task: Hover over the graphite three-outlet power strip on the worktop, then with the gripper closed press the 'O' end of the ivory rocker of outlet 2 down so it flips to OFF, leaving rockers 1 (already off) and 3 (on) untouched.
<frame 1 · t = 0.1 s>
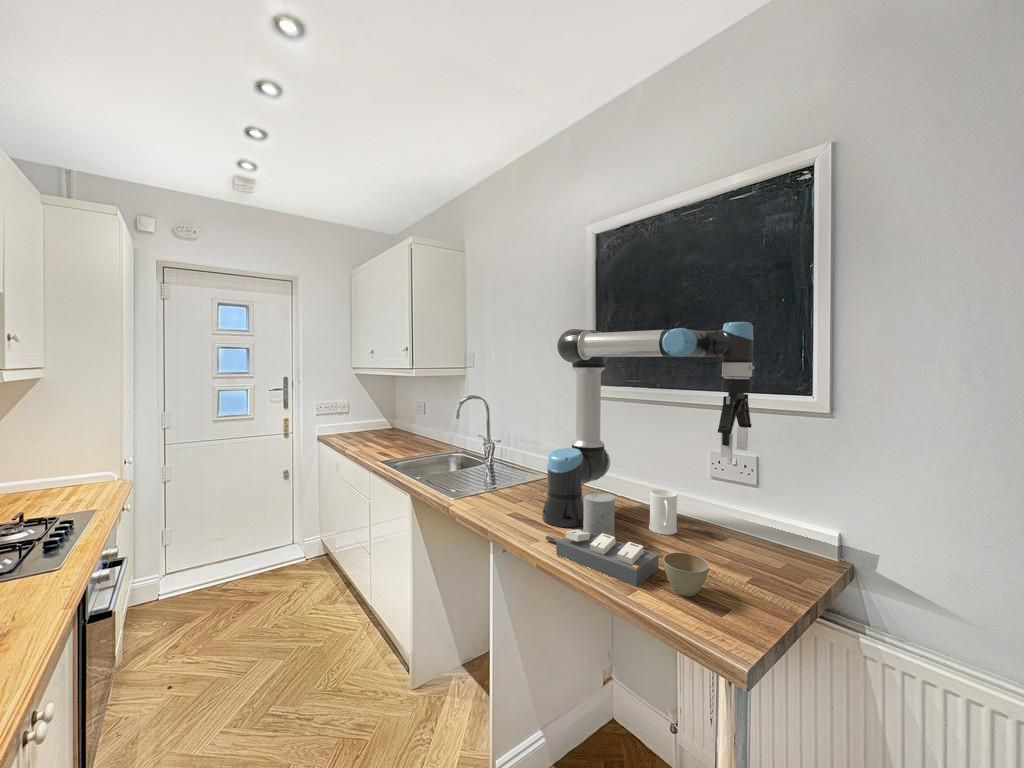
hand: (734, 453, 123), 28 cm above the table, fingers open, 13 cm apart
mug: (663, 532, 138), on the table
rocker 1: (577, 535, 121), point 6 cm above the table, hinge at -12.0°
flower pot: (685, 591, 103), on the table
grey concrete cylinder: (598, 536, 135), on the table
rocker 2: (602, 543, 116), point 6 cm above the table, hinge at 12.0°
rocker 3: (630, 552, 110), point 6 cm above the table, hinge at 12.0°
power strip: (605, 562, 117), on the table
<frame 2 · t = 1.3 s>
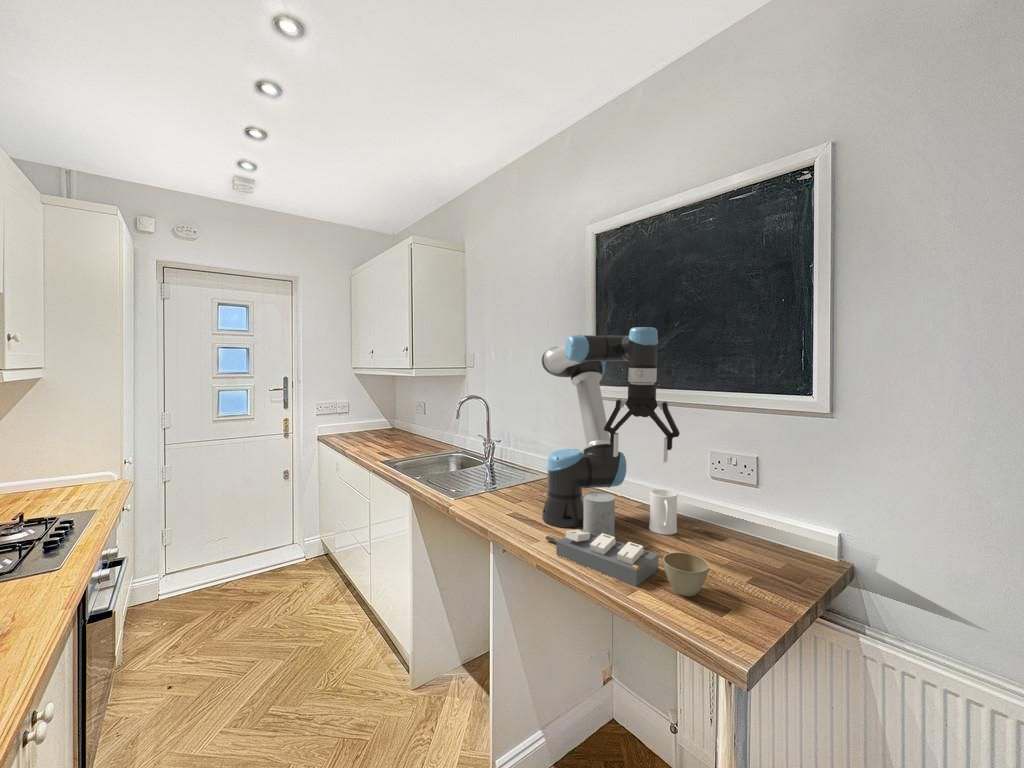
hand: (640, 458, 123), 26 cm above the table, fingers open, 13 cm apart
nothing on the table moved.
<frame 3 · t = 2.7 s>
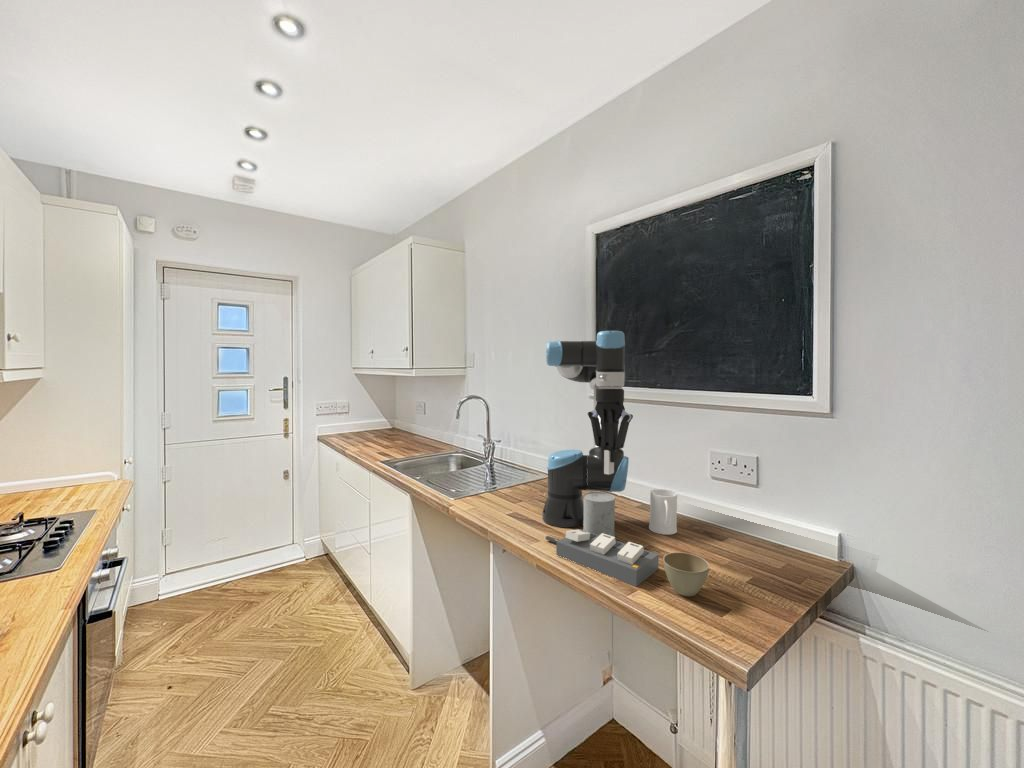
hand: (608, 473, 120), 23 cm above the table, fingers closed
nothing on the table moved.
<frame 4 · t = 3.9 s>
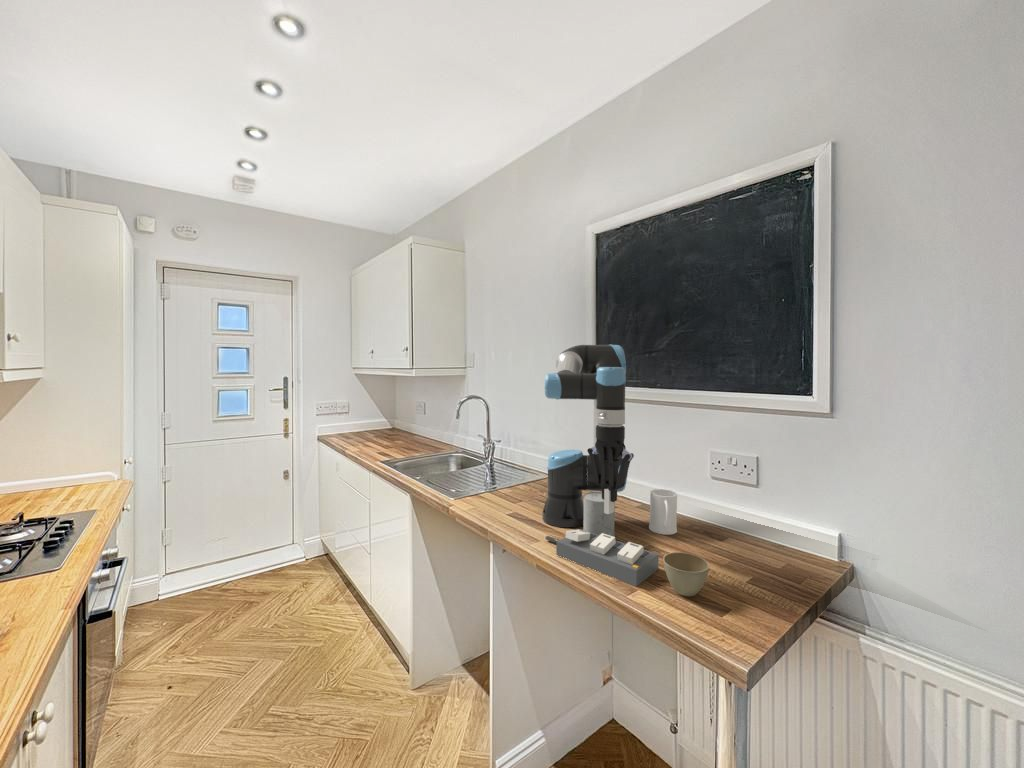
hand: (609, 512, 117), 13 cm above the table, fingers closed
nothing on the table moved.
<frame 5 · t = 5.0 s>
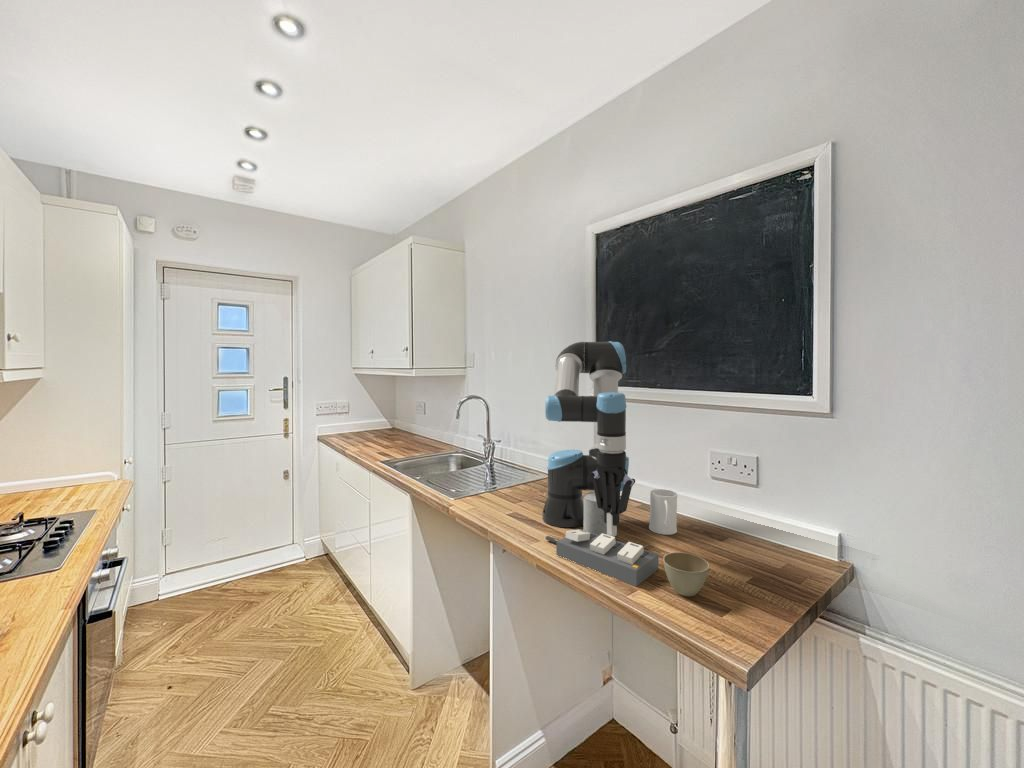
hand: (611, 535, 119), 7 cm above the table, fingers closed
rocker 2: (602, 543, 116), point 6 cm above the table, hinge at 11.1°, touching gripper
everything else where it was.
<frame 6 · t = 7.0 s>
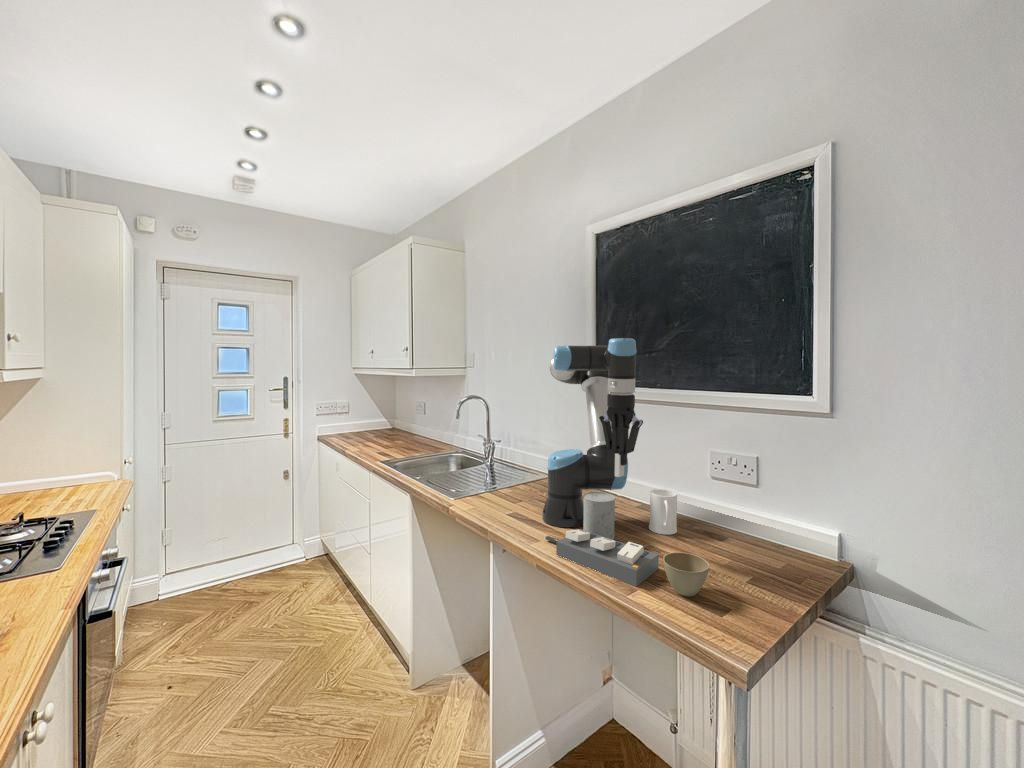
hand: (619, 475, 125), 21 cm above the table, fingers closed
rocker 2: (603, 543, 116), point 6 cm above the table, hinge at -11.4°
everything else where it was.
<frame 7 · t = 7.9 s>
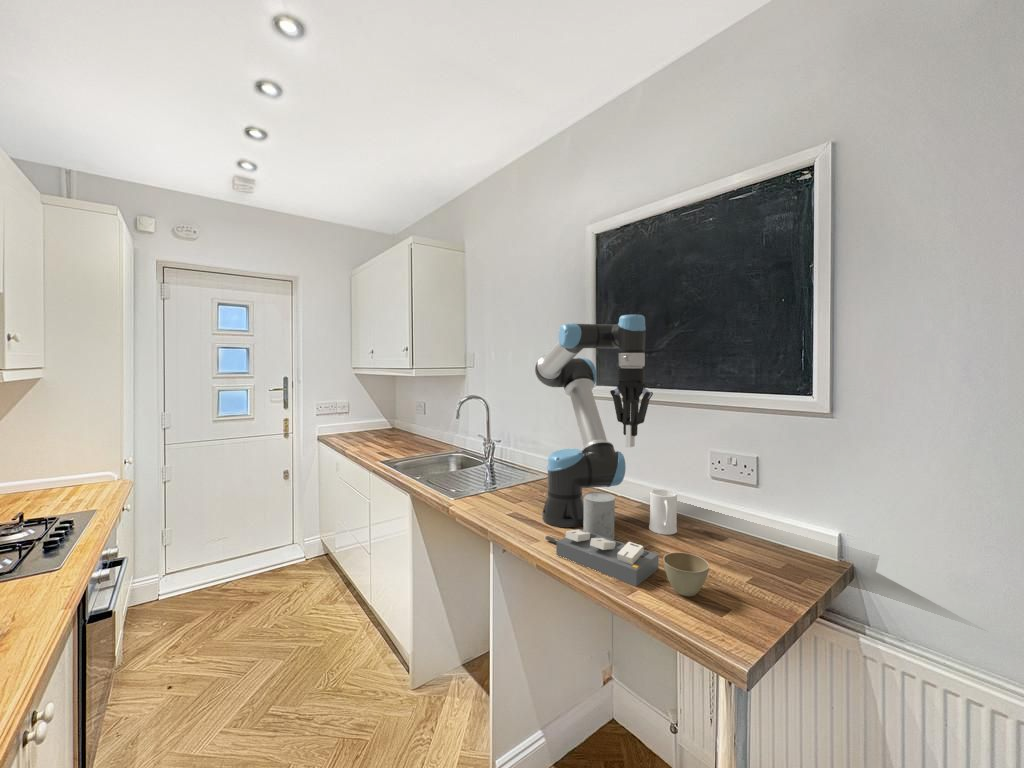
hand: (630, 446, 131), 28 cm above the table, fingers closed
rocker 2: (603, 543, 116), point 6 cm above the table, hinge at -16.0°, touching power strip
everything else where it was.
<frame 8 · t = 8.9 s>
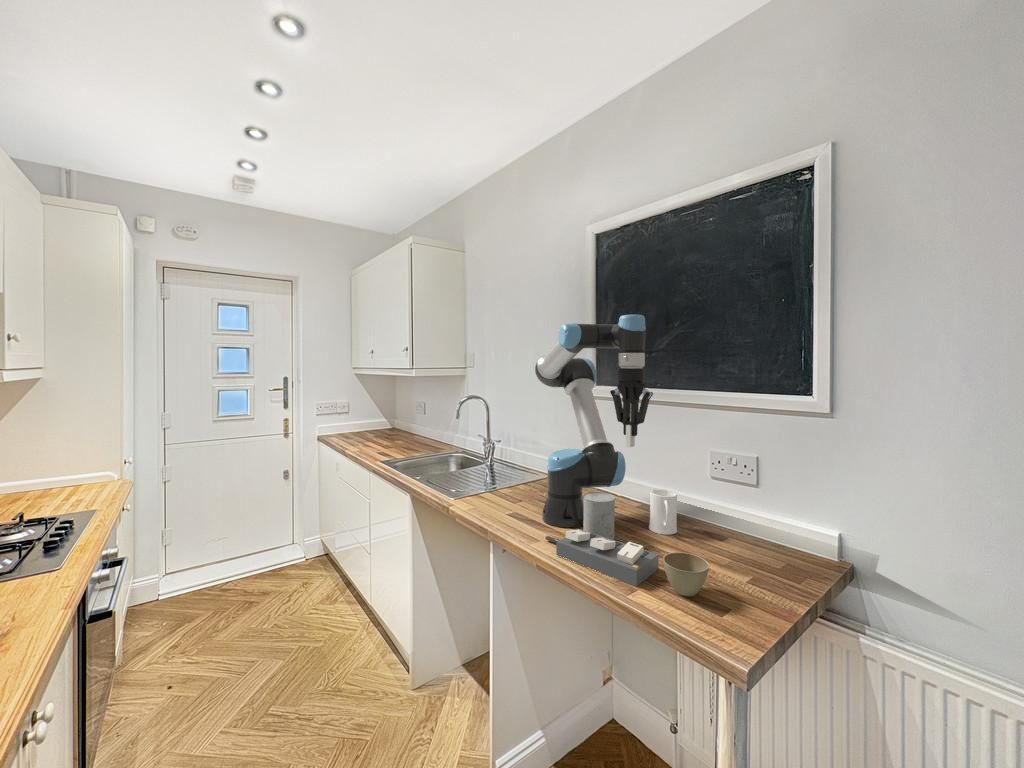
hand: (630, 446, 131), 28 cm above the table, fingers closed
rocker 2: (603, 543, 116), point 6 cm above the table, hinge at -13.9°
everything else where it was.
at the end: rocker 2 at -14° (first picture: +12°); rocker 1 at -12° (first picture: -12°); rocker 3 at +12° (first picture: +12°) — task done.
